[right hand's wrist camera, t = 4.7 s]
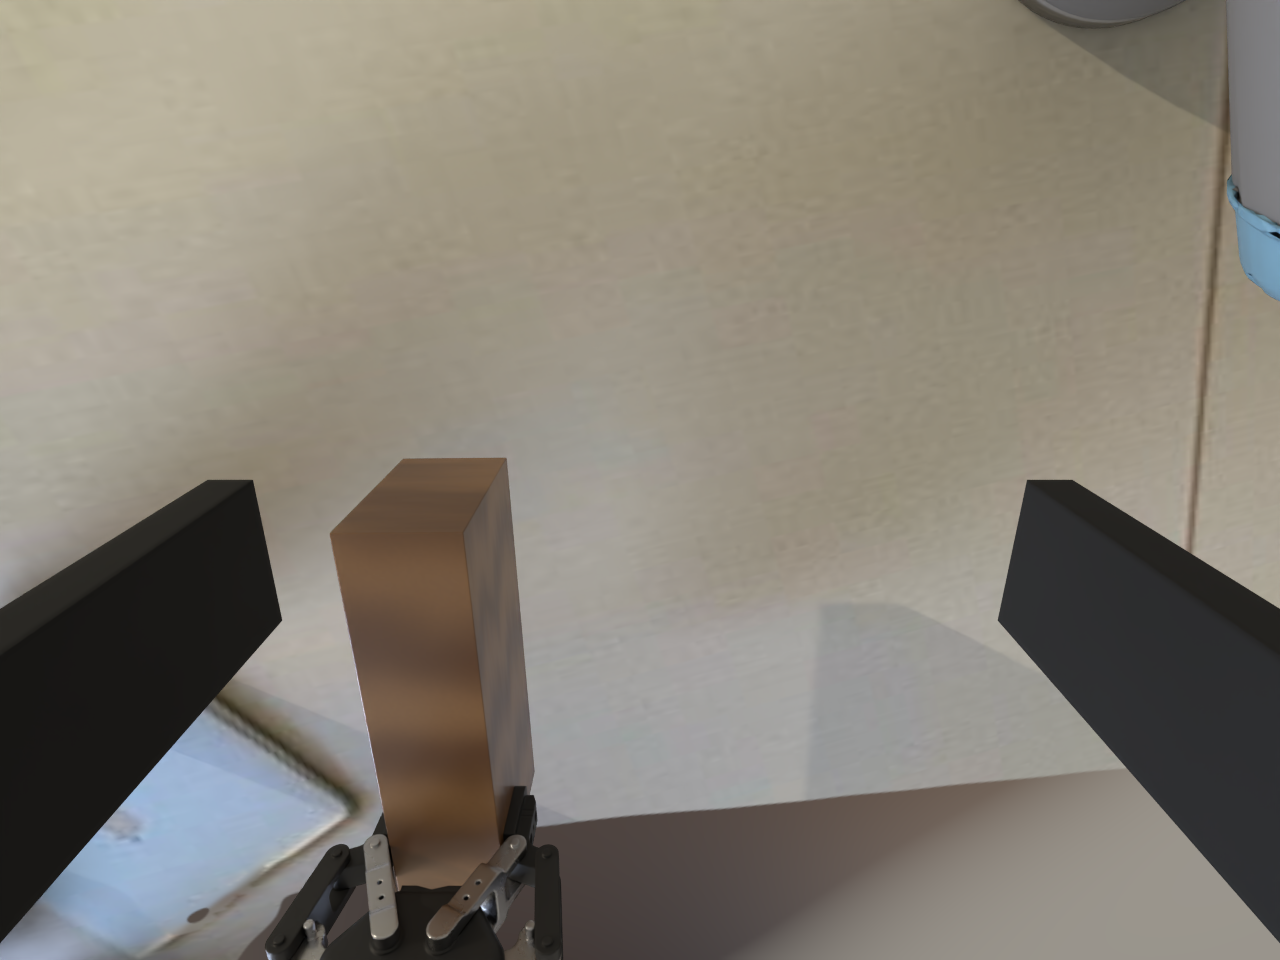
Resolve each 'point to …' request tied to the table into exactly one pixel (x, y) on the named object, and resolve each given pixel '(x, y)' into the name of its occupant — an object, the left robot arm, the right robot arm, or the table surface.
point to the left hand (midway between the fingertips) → (467, 797)
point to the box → (439, 659)
